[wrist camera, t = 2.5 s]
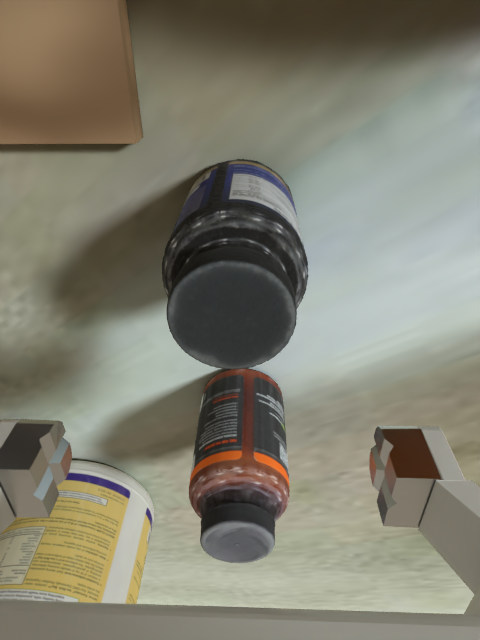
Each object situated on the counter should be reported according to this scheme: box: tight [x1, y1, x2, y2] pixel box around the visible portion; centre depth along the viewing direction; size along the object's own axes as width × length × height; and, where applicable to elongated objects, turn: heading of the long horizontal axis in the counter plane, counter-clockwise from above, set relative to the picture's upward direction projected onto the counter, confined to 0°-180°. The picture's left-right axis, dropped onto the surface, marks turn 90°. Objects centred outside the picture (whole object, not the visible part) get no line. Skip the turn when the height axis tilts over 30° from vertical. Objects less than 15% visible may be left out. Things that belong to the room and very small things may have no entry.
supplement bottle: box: [189, 368, 289, 563], centre depth 28 cm, size 6×6×11 cm
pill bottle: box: [162, 159, 308, 369], centre depth 20 cm, size 6×6×11 cm
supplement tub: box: [0, 460, 154, 604], centre depth 33 cm, size 12×12×17 cm
